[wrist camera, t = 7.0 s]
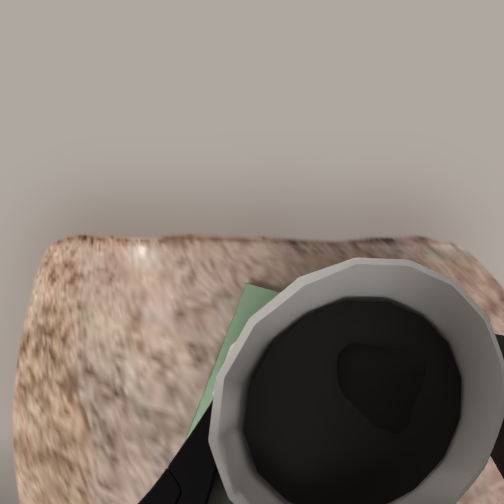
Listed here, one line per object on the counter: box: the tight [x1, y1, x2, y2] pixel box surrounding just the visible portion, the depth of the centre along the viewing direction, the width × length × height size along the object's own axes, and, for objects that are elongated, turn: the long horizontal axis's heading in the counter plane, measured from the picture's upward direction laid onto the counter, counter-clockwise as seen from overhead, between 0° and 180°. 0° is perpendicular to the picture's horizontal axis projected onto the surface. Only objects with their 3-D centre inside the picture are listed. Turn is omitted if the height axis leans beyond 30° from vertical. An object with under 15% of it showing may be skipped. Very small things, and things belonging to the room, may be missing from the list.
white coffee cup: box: [208, 257, 504, 504], centre depth 8 cm, size 7×7×10 cm
